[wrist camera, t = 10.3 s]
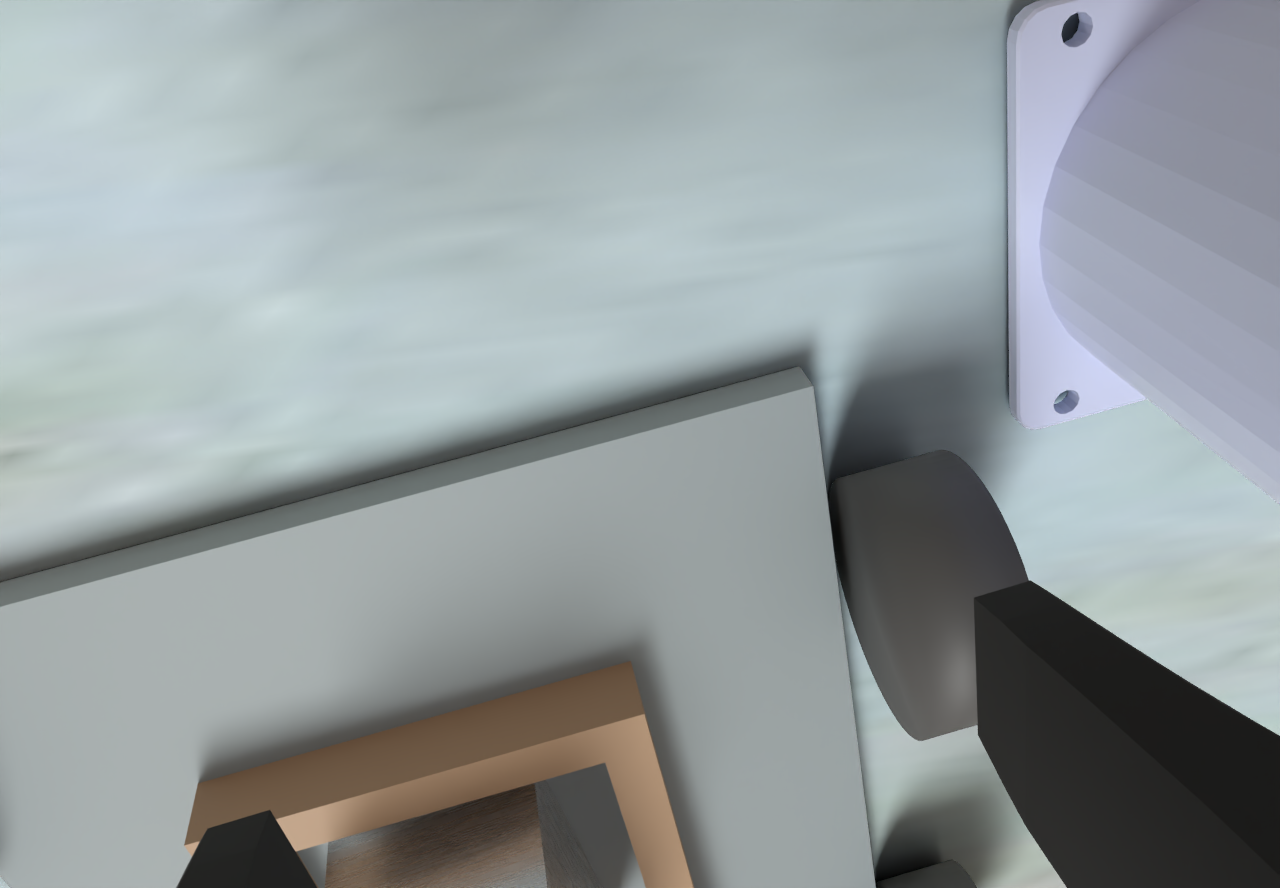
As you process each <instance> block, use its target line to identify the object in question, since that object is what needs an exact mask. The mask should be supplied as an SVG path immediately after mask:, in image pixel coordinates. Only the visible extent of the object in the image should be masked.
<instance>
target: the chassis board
mask: <svg viewBox="0 0 1280 888" xmlns="http://www.w3.org/2000/svg"><path fill="white" fill-rule="evenodd" d="M834 554H835V556H834ZM835 559H836V564H837V568H838V573H839V577H840V581H841V585H842V588H843V592H844V595H845V599H846V602H847V606H848V609H849V612H850V616H851V619H852V622H853V625H854V628H855V631H856V633H857V636H858V639H859V642H860V644H861V647H862V650H863V652H864V655H865V657H866V660H867V662H868V665H869V667H870V669H871V672H872V674H873V676H874V678H875V680H876V683H877V685H878V687H879V689H880V691H881V693H882V695H883V697H884V699H885V701H886V702H887V704H888V706H889V708H890V709H891V711H892V713H893V714H894V716H895V717H896V719H897V720H898V722H899V723H900V725H901V726H902V727H903V728H904V730H905V731H906V732H907V733H908V734H909V735H910V736H911V737H913V738H914V739H916V740H918V741H923V740H927V739H930V738H933V737H937V736H940V735H944V734H947V733H951V732H954V731H957V730H961V729H964V728H968V727H971V726H975V725H978V718H977V686H976V655H975V623H974V597H977V596H981V595H984V594H987V593H991V592H994V591H997V590H1001V589H1004V588H1007V587H1011V586H1014V585H1017V584H1020V583H1024V582H1027V581H1029V580H1028V577H1027V574H1026V571H1025V568H1024V565H1023V562H1022V559H1021V557H1020V554H1019V552H1018V549H1017V546H1016V544H1015V542H1014V539H1013V537H1012V535H1011V533H1010V530H1009V528H1008V526H1007V524H1006V522H1005V520H1004V518H1003V516H1002V514H1001V512H1000V510H999V508H998V507H997V505H996V503H995V501H994V500H993V498H992V496H991V495H990V493H989V492H988V490H987V489H986V487H985V485H984V484H983V482H982V481H981V480H980V479H979V477H978V476H977V475H976V473H975V472H974V471H973V470H972V469H971V468H970V467H969V466H968V465H967V463H966V462H964V461H963V460H962V459H961V458H960V457H958V456H957V455H955V454H953V453H952V452H949V451H946V450H938V451H935V452H931V453H927V454H924V455H920V456H916V457H913V458H909V459H906V460H902V461H898V462H895V463H891V464H888V465H884V466H880V467H877V468H873V469H869V470H866V471H862V472H859V473H855V474H851V475H848V476H844V477H841V478H837V479H836V480H834V482H833V484H832V486H831V489H830V495H829V508H828V500H827V492H826V484H825V476H824V468H823V460H822V452H821V444H820V436H819V428H818V420H817V412H816V404H815V396H814V388H813V385H812V383H811V382H810V381H809V379H808V378H807V376H806V375H805V373H804V372H803V371H802V369H801V368H800V366H799V367H795V368H791V369H787V370H784V371H780V372H776V373H773V374H769V375H765V376H762V377H758V378H754V379H750V380H747V381H743V382H739V383H736V384H732V385H728V386H725V387H721V388H717V389H713V390H710V391H706V392H702V393H699V394H695V395H691V396H688V397H684V398H680V399H676V400H673V401H669V402H665V403H662V404H658V405H654V406H651V407H647V408H643V409H640V410H636V411H632V412H628V413H625V414H621V415H617V416H614V417H610V418H606V419H603V420H599V421H595V422H591V423H588V424H584V425H580V426H577V427H573V428H569V429H566V430H562V431H558V432H554V433H551V434H547V435H543V436H540V437H536V438H532V439H529V440H525V441H521V442H518V443H514V444H510V445H506V446H503V447H499V448H495V449H492V450H488V451H484V452H481V453H477V454H473V455H469V456H466V457H462V458H458V459H455V460H451V461H447V462H444V463H440V464H436V465H432V466H429V467H425V468H421V469H418V470H414V471H410V472H407V473H403V474H399V475H396V476H392V477H388V478H384V479H381V480H377V481H373V482H370V483H366V484H362V485H359V486H355V487H351V488H347V489H344V490H340V491H336V492H333V493H329V494H325V495H322V496H318V497H314V498H310V499H307V500H303V501H299V502H296V503H292V504H288V505H285V506H281V507H277V508H274V509H270V510H266V511H262V512H259V513H255V514H251V515H248V516H244V517H240V518H237V519H233V520H229V521H225V522H222V523H218V524H214V525H211V526H207V527H203V528H200V529H196V530H192V531H188V532H185V533H181V534H177V535H174V536H170V537H166V538H163V539H159V540H155V541H151V542H148V543H144V544H140V545H137V546H133V547H129V548H126V549H122V550H118V551H115V552H111V553H107V554H103V555H100V556H96V557H92V558H89V559H85V560H81V561H78V562H74V563H70V564H66V565H63V566H59V567H55V568H52V569H48V570H44V571H41V572H37V573H33V574H29V575H26V576H22V577H18V578H15V579H11V580H7V581H4V582H0V877H1V878H2V879H3V880H4V881H5V882H6V883H7V885H8V886H9V887H10V888H176V887H177V885H178V883H179V881H180V879H181V877H182V875H183V873H184V871H185V869H186V867H187V865H188V863H189V862H190V860H191V858H192V856H193V854H194V852H195V850H196V848H197V846H198V844H199V842H200V840H201V839H202V837H203V835H204V834H205V832H206V830H207V829H208V828H211V827H214V826H217V825H221V824H224V823H227V822H231V821H234V820H237V819H241V818H244V817H247V816H251V815H254V814H257V813H261V812H264V811H267V810H270V811H271V812H272V814H273V816H274V817H275V819H276V820H277V822H278V824H279V825H280V827H281V829H282V830H283V832H284V834H285V835H286V837H287V839H288V840H289V842H290V843H291V845H292V847H293V848H294V850H295V852H296V853H297V855H298V857H299V858H300V860H301V861H302V863H303V865H304V866H305V868H306V870H307V871H308V873H309V875H310V876H311V878H312V880H313V881H314V883H315V884H316V886H317V888H325V877H326V865H327V853H328V842H331V841H334V840H338V839H341V838H345V837H348V836H352V835H355V834H359V833H362V832H366V831H369V830H372V829H376V828H379V827H383V826H386V825H390V824H393V823H397V822H400V821H404V820H407V819H411V818H414V817H418V816H421V815H425V814H428V813H432V812H435V811H439V810H442V809H445V808H449V807H452V806H456V805H459V804H463V803H466V802H470V801H473V800H477V799H480V798H484V797H487V796H491V795H494V794H498V793H501V792H505V791H508V790H511V789H515V788H518V787H522V786H525V785H529V784H532V783H536V782H539V781H543V780H546V781H547V783H548V784H549V786H550V788H551V790H552V792H553V794H554V796H555V798H556V800H557V801H558V803H559V805H560V807H561V809H562V811H563V813H564V815H565V817H566V818H567V820H568V822H569V824H570V826H571V828H572V830H573V832H574V834H575V835H576V837H577V839H578V841H579V843H580V845H581V847H582V849H583V851H584V852H585V854H586V856H587V858H588V860H589V862H590V864H591V866H592V868H593V869H594V871H595V873H596V875H597V877H598V879H599V881H600V883H601V884H602V886H603V888H977V887H976V885H975V884H974V882H973V881H972V879H971V878H970V876H969V875H968V874H967V872H966V871H965V870H964V869H963V868H962V866H961V865H960V864H958V863H957V862H956V861H954V860H949V861H945V862H942V863H939V864H935V865H932V866H929V867H925V868H922V869H919V870H915V871H912V872H909V873H905V874H902V875H898V876H895V877H892V878H888V879H885V880H882V881H878V882H877V884H876V885H875V877H874V869H873V861H872V853H871V845H870V837H869V829H868V821H867V813H866V805H865V797H864V789H863V781H862V773H861V765H860V757H859V749H858V741H857V733H856V725H855V717H854V709H853V701H852V693H851V685H850V677H849V669H848V661H847V653H846V644H845V636H844V628H843V620H842V612H841V604H840V596H839V588H838V580H837V572H836V564H835Z"/></svg>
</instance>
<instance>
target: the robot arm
mask: <svg viewBox="0 0 1280 888" xmlns="http://www.w3.org/2000/svg"><path fill="white" fill-rule="evenodd" d="M1075 13H1078V16H1079V21H1080V22H1079V26H1078V30H1077V32H1076V33H1075V34H1074V36H1073V37H1072V38H1071V39H1070V40H1068V41H1066V42H1064V43H1063V40H1062V36H1061V33H1062V29H1063V25H1064V23H1065V22H1066V21H1067V19H1068V18H1069V17H1070V16H1072V15H1073V14H1075ZM1007 130H1008V289H1009V408H1010V412H1011V415H1012V416H1013V417H1014V418H1015V419H1016V420H1017V421H1018V422H1019V423H1020V424H1021V425H1022V426H1023V427H1024V428H1028V429H1031V430H1034V429H1042V428H1045V427H1049V426H1053V425H1056V424H1060V423H1063V422H1067V421H1071V420H1074V419H1078V418H1081V417H1085V416H1089V415H1092V414H1096V413H1099V412H1103V411H1107V410H1110V409H1114V408H1117V407H1121V406H1125V405H1128V404H1132V403H1136V402H1139V401H1143V400H1146V399H1148V400H1149V401H1150V402H1152V403H1153V404H1154V405H1156V406H1157V407H1158V408H1159V409H1161V410H1162V411H1163V412H1164V413H1166V414H1167V415H1168V416H1169V417H1171V418H1172V419H1173V420H1174V421H1176V422H1177V423H1178V424H1179V425H1181V426H1182V427H1183V428H1184V429H1186V430H1187V431H1188V432H1189V433H1191V434H1192V435H1193V436H1194V437H1196V438H1197V439H1198V440H1199V441H1201V442H1202V443H1203V444H1204V445H1206V446H1207V447H1208V448H1209V449H1211V450H1212V451H1213V452H1214V453H1216V454H1217V455H1218V456H1220V457H1221V458H1222V459H1223V460H1225V461H1226V462H1227V463H1228V464H1230V465H1231V466H1232V467H1233V468H1235V469H1236V470H1237V471H1238V472H1240V473H1241V474H1242V475H1243V476H1245V477H1246V478H1247V479H1248V480H1250V481H1251V482H1252V483H1253V484H1255V485H1256V486H1257V487H1258V488H1260V489H1261V490H1262V491H1263V492H1265V493H1266V494H1267V495H1268V496H1270V497H1271V498H1272V499H1273V500H1275V501H1276V502H1277V503H1279V504H1280V0H1039V1H1036V2H1034V3H1031V4H1029V5H1027V6H1025V7H1024V8H1023V9H1022V10H1021V11H1020V12H1019V13H1018V14H1017V15H1016V16H1015V18H1014V20H1013V22H1012V24H1011V26H1010V28H1009V32H1008V38H1007ZM1066 390H1068V393H1067V396H1066V397H1065V398H1064V399H1063V400H1062V401H1060V402H1058V403H1056V404H1054V402H1055V399H1056V398H1057V397H1058V396H1059V394H1061V393H1062V392H1064V391H1066ZM974 623H975V655H976V686H977V718H978V736H979V738H980V740H981V742H982V744H983V745H984V747H985V749H986V751H987V753H988V755H989V757H990V759H991V761H992V763H993V765H994V767H995V769H996V771H997V773H998V775H999V777H1000V779H1001V781H1002V783H1003V785H1004V787H1005V788H1006V790H1007V792H1008V794H1009V796H1010V798H1011V800H1012V801H1013V803H1014V805H1015V807H1016V809H1017V811H1018V813H1019V814H1020V816H1021V818H1022V820H1023V822H1024V824H1025V826H1026V827H1027V829H1028V830H1029V832H1030V833H1031V835H1032V836H1033V838H1034V839H1035V841H1036V842H1037V844H1038V845H1039V847H1040V848H1041V850H1042V851H1043V853H1044V854H1045V856H1046V857H1047V859H1048V860H1049V862H1050V863H1051V865H1052V866H1053V868H1054V869H1055V871H1056V872H1057V873H1058V875H1059V876H1060V878H1061V879H1062V881H1063V882H1064V884H1065V885H1066V887H1067V888H1280V736H1279V735H1277V734H1275V733H1274V732H1272V731H1270V730H1269V729H1267V728H1265V727H1263V726H1262V725H1260V724H1258V723H1256V722H1255V721H1253V720H1251V719H1250V718H1248V717H1246V716H1245V715H1243V714H1241V713H1240V712H1238V711H1236V710H1235V709H1233V708H1231V707H1230V706H1228V705H1226V704H1225V703H1223V702H1221V701H1220V700H1218V699H1216V698H1215V697H1213V696H1211V695H1210V694H1208V693H1206V692H1205V691H1203V690H1201V689H1200V688H1198V687H1196V686H1195V685H1193V684H1191V683H1190V682H1188V681H1187V680H1185V679H1183V678H1182V677H1180V676H1179V675H1177V674H1175V673H1174V672H1172V671H1171V670H1169V669H1167V668H1166V667H1164V666H1163V665H1161V664H1159V663H1158V662H1156V661H1155V660H1153V659H1152V658H1150V657H1148V656H1147V655H1145V654H1144V653H1142V652H1141V651H1139V650H1137V649H1136V648H1134V647H1133V646H1131V645H1130V644H1128V643H1127V642H1125V641H1123V640H1122V639H1120V638H1119V637H1117V636H1116V635H1114V634H1113V633H1111V632H1110V631H1108V630H1106V629H1105V628H1103V627H1102V626H1100V625H1099V624H1097V623H1096V622H1094V621H1093V620H1091V619H1090V618H1088V617H1087V616H1085V615H1084V614H1082V613H1080V612H1079V611H1077V610H1076V609H1074V608H1073V607H1071V606H1070V605H1068V604H1067V603H1065V602H1064V601H1062V600H1061V599H1059V598H1057V597H1056V596H1054V595H1053V594H1051V593H1050V592H1048V591H1047V590H1045V589H1043V588H1042V587H1040V586H1039V585H1037V584H1035V583H1034V582H1032V581H1027V582H1024V583H1020V584H1017V585H1014V586H1011V587H1007V588H1004V589H1001V590H997V591H994V592H991V593H987V594H984V595H981V596H977V597H974ZM176 888H317V886H316V884H315V883H314V881H313V880H312V878H311V876H310V875H309V873H308V871H307V870H306V868H305V866H304V865H303V863H302V861H301V860H300V858H299V857H298V855H297V853H296V852H295V850H294V848H293V847H292V845H291V843H290V842H289V840H288V839H287V837H286V835H285V834H284V832H283V830H282V829H281V827H280V825H279V824H278V822H277V820H276V819H275V817H274V816H273V814H272V812H271V811H270V810H267V811H264V812H261V813H257V814H254V815H251V816H247V817H244V818H241V819H237V820H234V821H231V822H227V823H224V824H221V825H217V826H214V827H211V828H208V829H207V830H206V832H205V834H204V835H203V837H202V839H201V840H200V842H199V844H198V846H197V848H196V850H195V852H194V854H193V856H192V858H191V860H190V862H189V863H188V865H187V867H186V869H185V871H184V873H183V875H182V877H181V879H180V881H179V883H178V885H177V887H176Z"/></svg>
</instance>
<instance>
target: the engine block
mask: <svg viewBox="0 0 1280 888" xmlns="http://www.w3.org/2000/svg"><path fill="white" fill-rule="evenodd" d="M325 888H603V886H602V884H601V883H600V881H599V879H598V877H597V875H596V873H595V871H594V869H593V868H592V866H591V864H590V862H589V860H588V858H587V856H586V854H585V852H584V851H583V849H582V847H581V845H580V843H579V841H578V839H577V837H576V835H575V834H574V832H573V830H572V828H571V826H570V824H569V822H568V820H567V818H566V817H565V815H564V813H563V811H562V809H561V807H560V805H559V803H558V801H557V800H556V798H555V796H554V794H553V792H552V790H551V788H550V786H549V784H548V783H547V781H546V780H543V781H539V782H536V783H532V784H529V785H525V786H522V787H518V788H515V789H511V790H508V791H505V792H501V793H498V794H494V795H491V796H487V797H484V798H480V799H477V800H473V801H470V802H466V803H463V804H459V805H456V806H452V807H449V808H445V809H442V810H439V811H435V812H432V813H428V814H425V815H421V816H418V817H414V818H411V819H407V820H404V821H400V822H397V823H393V824H390V825H386V826H383V827H379V828H376V829H372V830H369V831H366V832H362V833H359V834H355V835H352V836H348V837H345V838H341V839H338V840H334V841H331V842H328V853H327V865H326V877H325Z"/></svg>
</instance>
